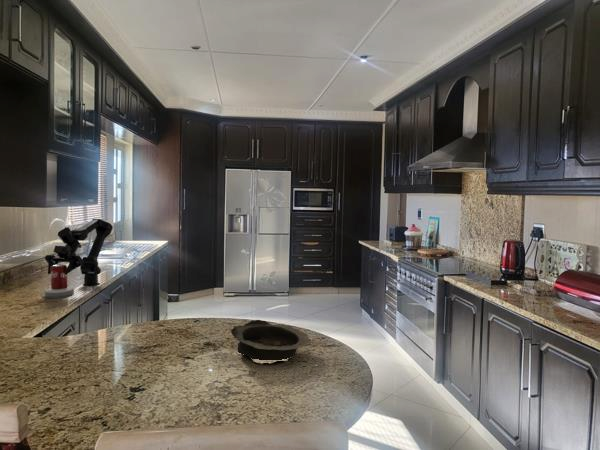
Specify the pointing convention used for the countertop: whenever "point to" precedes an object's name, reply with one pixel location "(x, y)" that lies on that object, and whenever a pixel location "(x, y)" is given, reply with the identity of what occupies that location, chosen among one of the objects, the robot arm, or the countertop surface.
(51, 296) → the riser
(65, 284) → the soda can
